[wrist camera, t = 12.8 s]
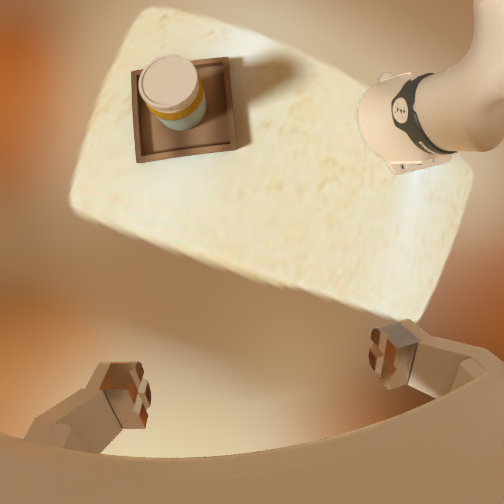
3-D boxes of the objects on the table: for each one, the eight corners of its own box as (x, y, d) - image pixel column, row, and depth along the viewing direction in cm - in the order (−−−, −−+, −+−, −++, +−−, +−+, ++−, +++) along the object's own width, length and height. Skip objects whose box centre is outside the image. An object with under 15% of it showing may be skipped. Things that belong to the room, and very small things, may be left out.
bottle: (152, 121, 39) (122, 99, 25) (173, 82, 38) (155, 43, 23) (193, 138, 41) (181, 121, 26) (214, 98, 39) (213, 63, 25)
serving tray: (227, 62, 39) (227, 57, 36) (235, 150, 43) (236, 148, 40) (135, 76, 37) (131, 71, 35) (140, 163, 41) (136, 162, 39)
